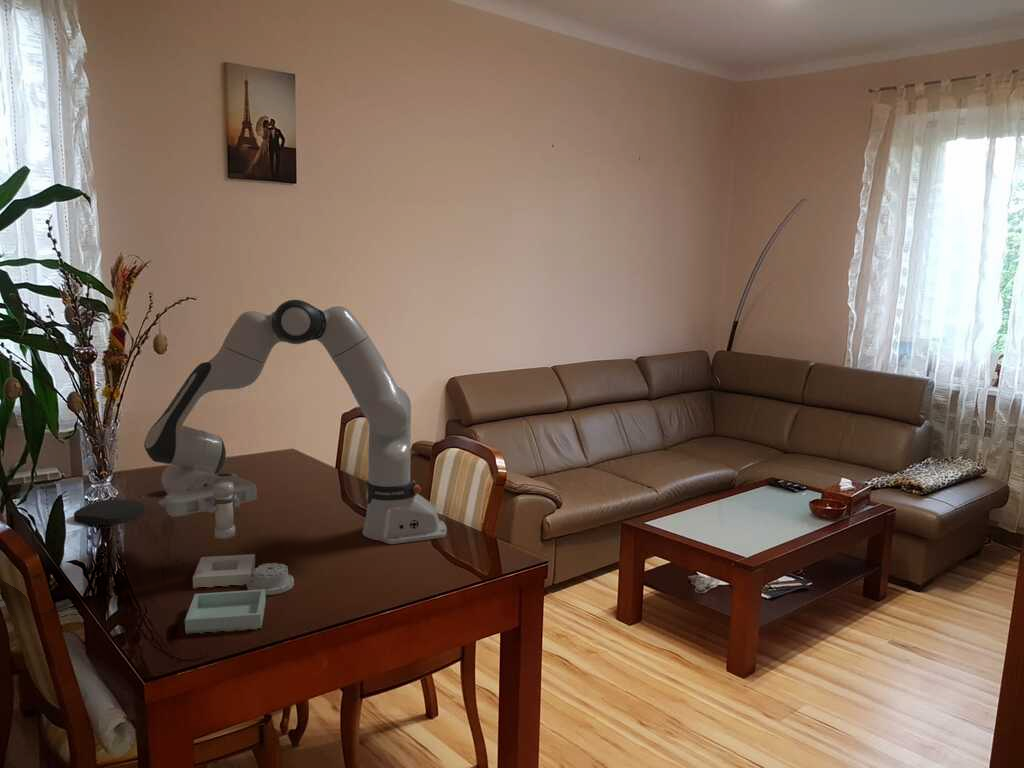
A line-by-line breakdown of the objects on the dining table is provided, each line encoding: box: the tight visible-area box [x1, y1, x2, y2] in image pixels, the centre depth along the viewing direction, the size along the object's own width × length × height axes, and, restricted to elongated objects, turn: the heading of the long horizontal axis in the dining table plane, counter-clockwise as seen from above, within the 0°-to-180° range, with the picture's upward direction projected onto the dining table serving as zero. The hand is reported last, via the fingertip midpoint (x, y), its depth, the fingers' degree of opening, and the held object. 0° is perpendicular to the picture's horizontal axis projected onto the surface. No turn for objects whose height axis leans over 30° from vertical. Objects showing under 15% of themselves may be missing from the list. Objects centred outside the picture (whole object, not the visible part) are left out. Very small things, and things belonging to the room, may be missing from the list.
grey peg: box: [213, 482, 236, 540], centre depth 176 cm, size 4×4×12 cm
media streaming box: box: [73, 499, 145, 527], centre depth 216 cm, size 15×15×3 cm
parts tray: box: [184, 589, 267, 635], centre depth 157 cm, size 14×12×3 cm
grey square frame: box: [192, 553, 256, 589], centre depth 178 cm, size 12×12×2 cm
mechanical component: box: [246, 562, 295, 596], centre depth 173 cm, size 10×4×10 cm
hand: (225, 506), depth 175 cm, fingers closed on grey peg, 4 cm apart
